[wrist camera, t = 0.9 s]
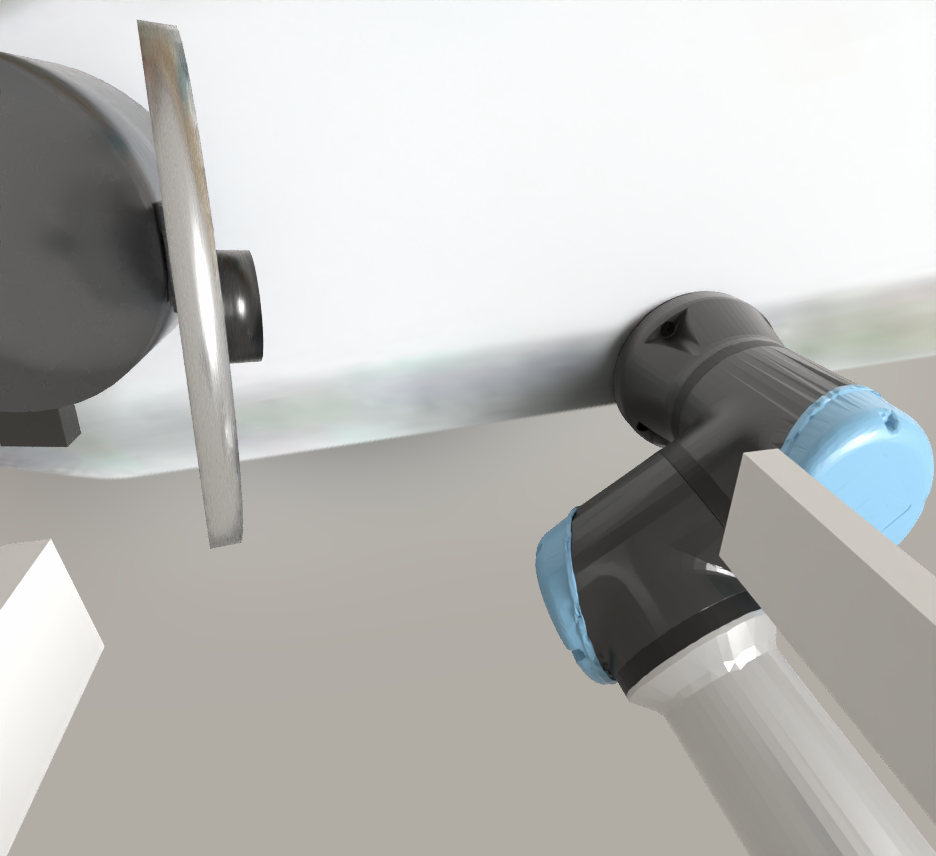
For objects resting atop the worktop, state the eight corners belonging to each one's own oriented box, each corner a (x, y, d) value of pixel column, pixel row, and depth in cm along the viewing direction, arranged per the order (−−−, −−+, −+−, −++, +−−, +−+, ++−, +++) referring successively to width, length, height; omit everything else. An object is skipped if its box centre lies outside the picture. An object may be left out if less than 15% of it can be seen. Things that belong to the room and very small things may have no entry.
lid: (136, 47, 30) (208, 57, 31) (188, 417, 39) (242, 411, 40) (118, -41, 12) (282, -9, 14) (220, 662, 22) (311, 636, 23)
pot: (220, 28, 39) (161, -11, 28) (251, 387, 50) (217, 455, 40) (-158, -17, 35) (-388, -82, 25) (-31, 379, 47) (-152, 452, 36)
